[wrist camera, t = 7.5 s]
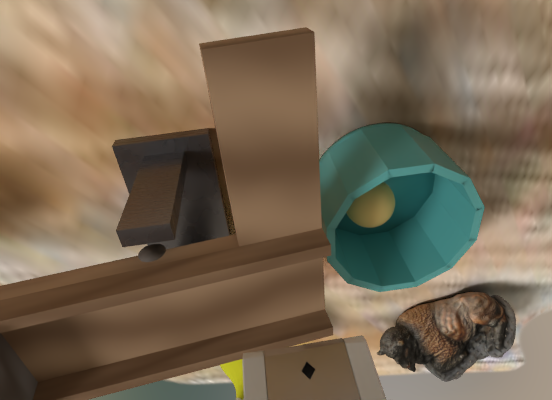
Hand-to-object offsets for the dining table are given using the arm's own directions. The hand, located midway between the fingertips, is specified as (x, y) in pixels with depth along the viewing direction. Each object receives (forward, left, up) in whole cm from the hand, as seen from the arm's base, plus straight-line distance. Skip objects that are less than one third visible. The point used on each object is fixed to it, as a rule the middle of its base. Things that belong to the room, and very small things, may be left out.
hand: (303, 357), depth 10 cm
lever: (+5, -8, -13) cm, 16 cm away
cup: (+10, +9, -22) cm, 26 cm away
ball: (+10, +8, -20) cm, 24 cm away
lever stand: (+10, -7, -22) cm, 26 cm away
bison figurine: (+28, +17, -23) cm, 39 cm away
